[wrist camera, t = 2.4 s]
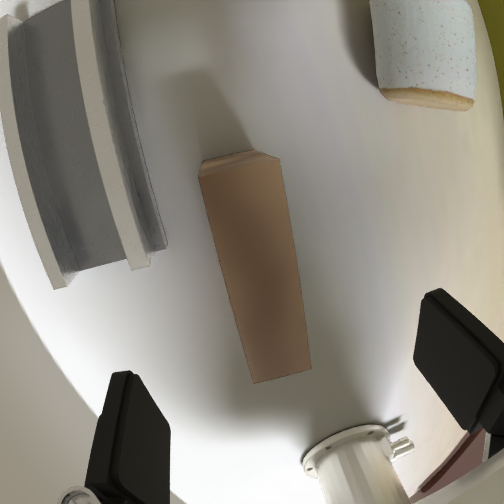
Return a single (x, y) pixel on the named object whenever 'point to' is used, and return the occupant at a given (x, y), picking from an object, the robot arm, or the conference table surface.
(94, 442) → the robot arm
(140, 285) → the conference table surface
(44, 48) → the floor track
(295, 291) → the door panel
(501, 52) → the ammo box
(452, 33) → the ceramic mug
